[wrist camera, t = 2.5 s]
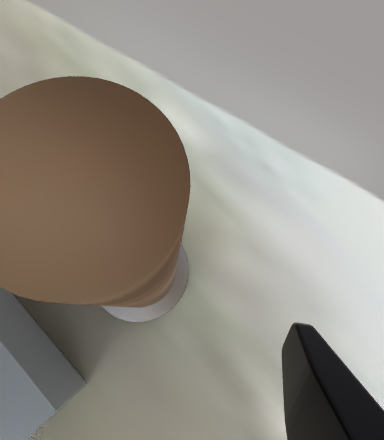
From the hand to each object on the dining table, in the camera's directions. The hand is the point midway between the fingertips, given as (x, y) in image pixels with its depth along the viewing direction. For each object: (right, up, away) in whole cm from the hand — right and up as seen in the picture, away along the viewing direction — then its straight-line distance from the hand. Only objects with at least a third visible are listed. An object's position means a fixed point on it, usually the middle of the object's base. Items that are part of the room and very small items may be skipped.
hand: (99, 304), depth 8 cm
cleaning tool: (0, -1, +9) cm, 9 cm away
